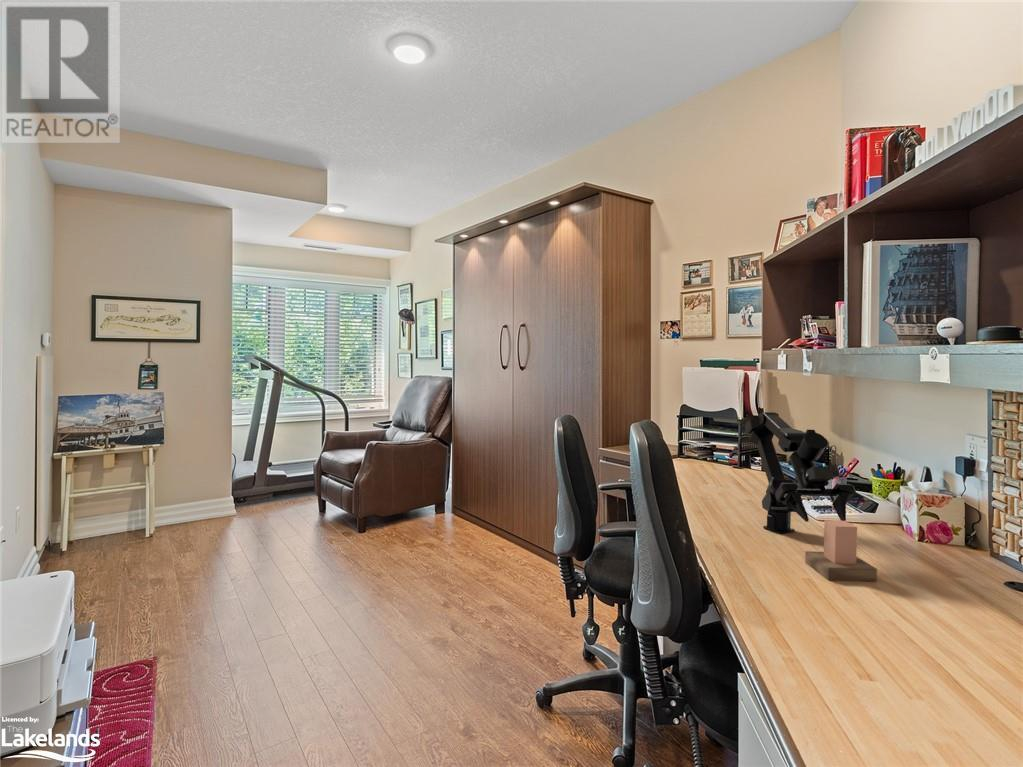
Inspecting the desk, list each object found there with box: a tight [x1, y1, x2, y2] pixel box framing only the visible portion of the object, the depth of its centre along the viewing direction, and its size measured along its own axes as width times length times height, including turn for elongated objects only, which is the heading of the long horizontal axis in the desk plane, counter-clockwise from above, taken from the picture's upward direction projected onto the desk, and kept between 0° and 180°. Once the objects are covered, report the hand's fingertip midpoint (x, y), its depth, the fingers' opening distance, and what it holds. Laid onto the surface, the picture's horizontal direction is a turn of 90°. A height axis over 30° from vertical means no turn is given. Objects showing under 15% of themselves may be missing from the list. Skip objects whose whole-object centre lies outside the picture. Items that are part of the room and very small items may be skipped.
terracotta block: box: [823, 519, 858, 564], centre depth 129 cm, size 5×5×9 cm
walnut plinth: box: [804, 550, 878, 582], centre depth 130 cm, size 11×11×3 cm
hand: (825, 521), depth 136 cm, fingers open, 9 cm apart
